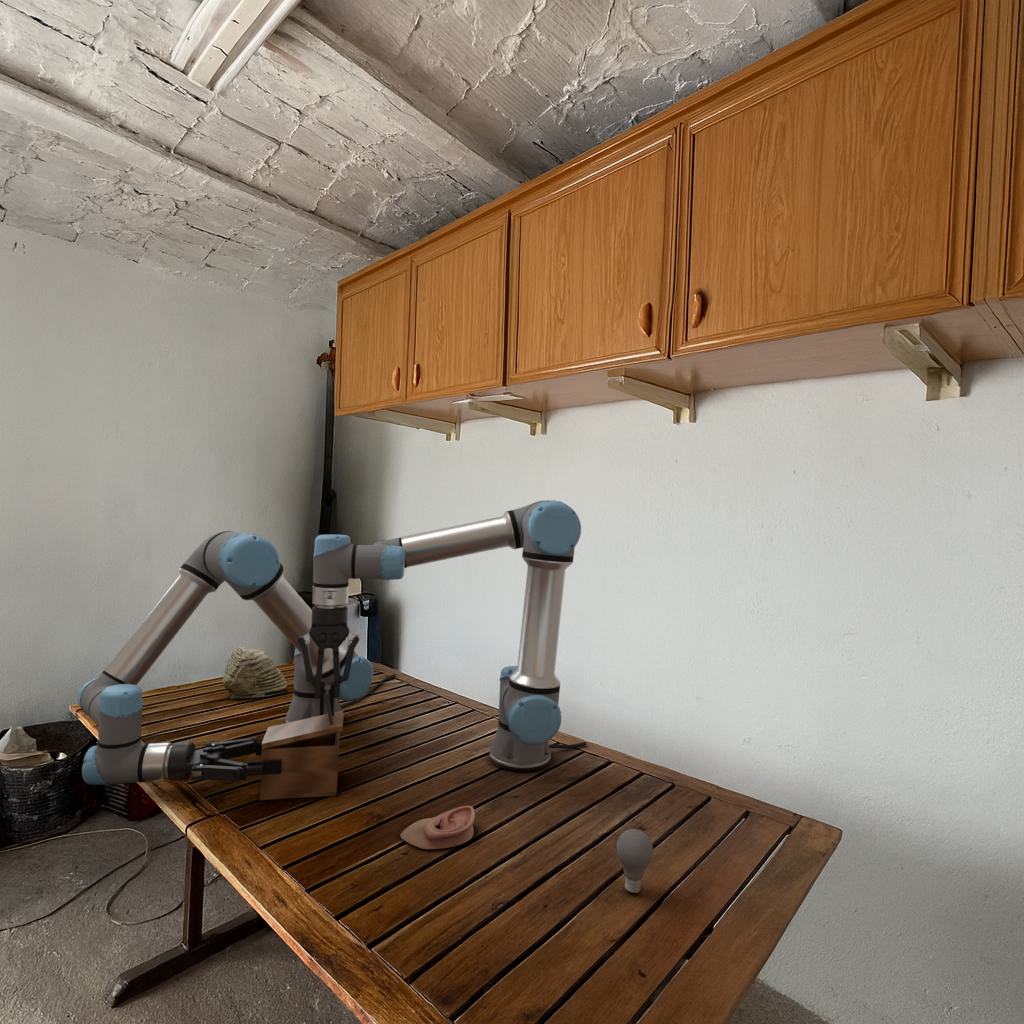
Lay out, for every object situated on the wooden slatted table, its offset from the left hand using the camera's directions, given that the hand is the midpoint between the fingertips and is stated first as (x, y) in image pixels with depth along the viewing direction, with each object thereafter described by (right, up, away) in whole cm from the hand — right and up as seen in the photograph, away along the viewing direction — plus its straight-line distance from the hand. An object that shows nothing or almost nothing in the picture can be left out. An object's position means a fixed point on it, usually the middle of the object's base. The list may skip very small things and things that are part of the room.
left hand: (284, 756), depth 137 cm
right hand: (+9, +9, +2) cm, 12 cm away
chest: (+3, -7, +1) cm, 8 cm away
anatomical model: (+35, -9, -16) cm, 40 cm away
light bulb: (+69, -11, -31) cm, 77 cm away
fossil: (-31, -4, +61) cm, 69 cm away
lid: (+4, +5, +1) cm, 7 cm away
